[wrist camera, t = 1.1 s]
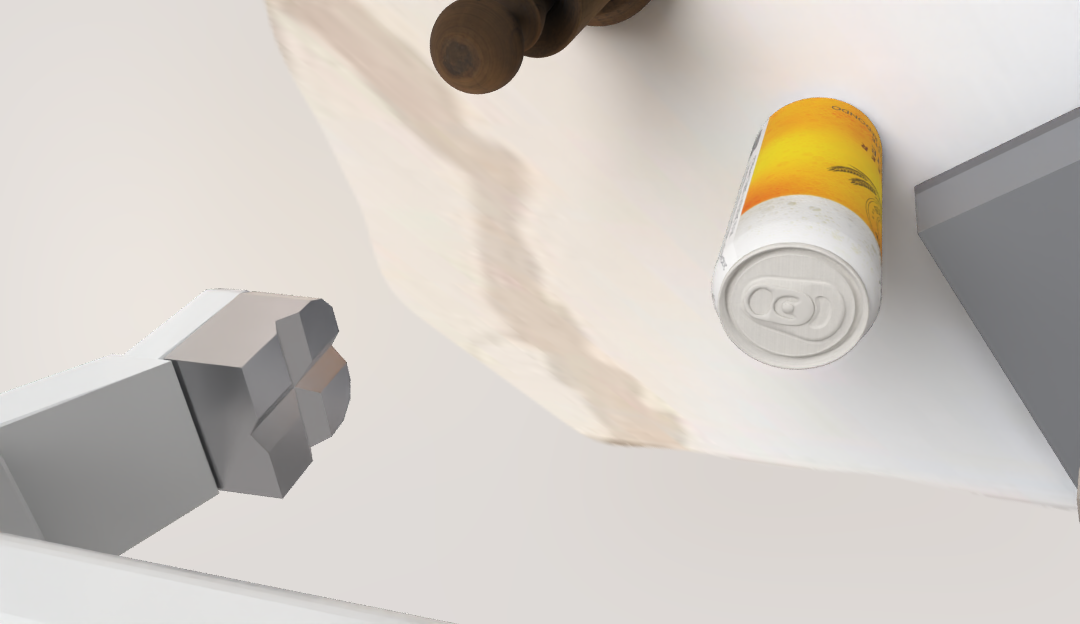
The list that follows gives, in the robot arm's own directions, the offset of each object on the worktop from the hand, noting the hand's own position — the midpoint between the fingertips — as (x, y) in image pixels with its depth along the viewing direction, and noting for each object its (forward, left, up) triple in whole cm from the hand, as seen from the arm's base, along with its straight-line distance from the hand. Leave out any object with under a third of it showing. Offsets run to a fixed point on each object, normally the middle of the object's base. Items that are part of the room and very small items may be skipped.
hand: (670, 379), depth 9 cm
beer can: (+6, +10, -35) cm, 37 cm away
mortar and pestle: (+9, -4, -35) cm, 37 cm away
